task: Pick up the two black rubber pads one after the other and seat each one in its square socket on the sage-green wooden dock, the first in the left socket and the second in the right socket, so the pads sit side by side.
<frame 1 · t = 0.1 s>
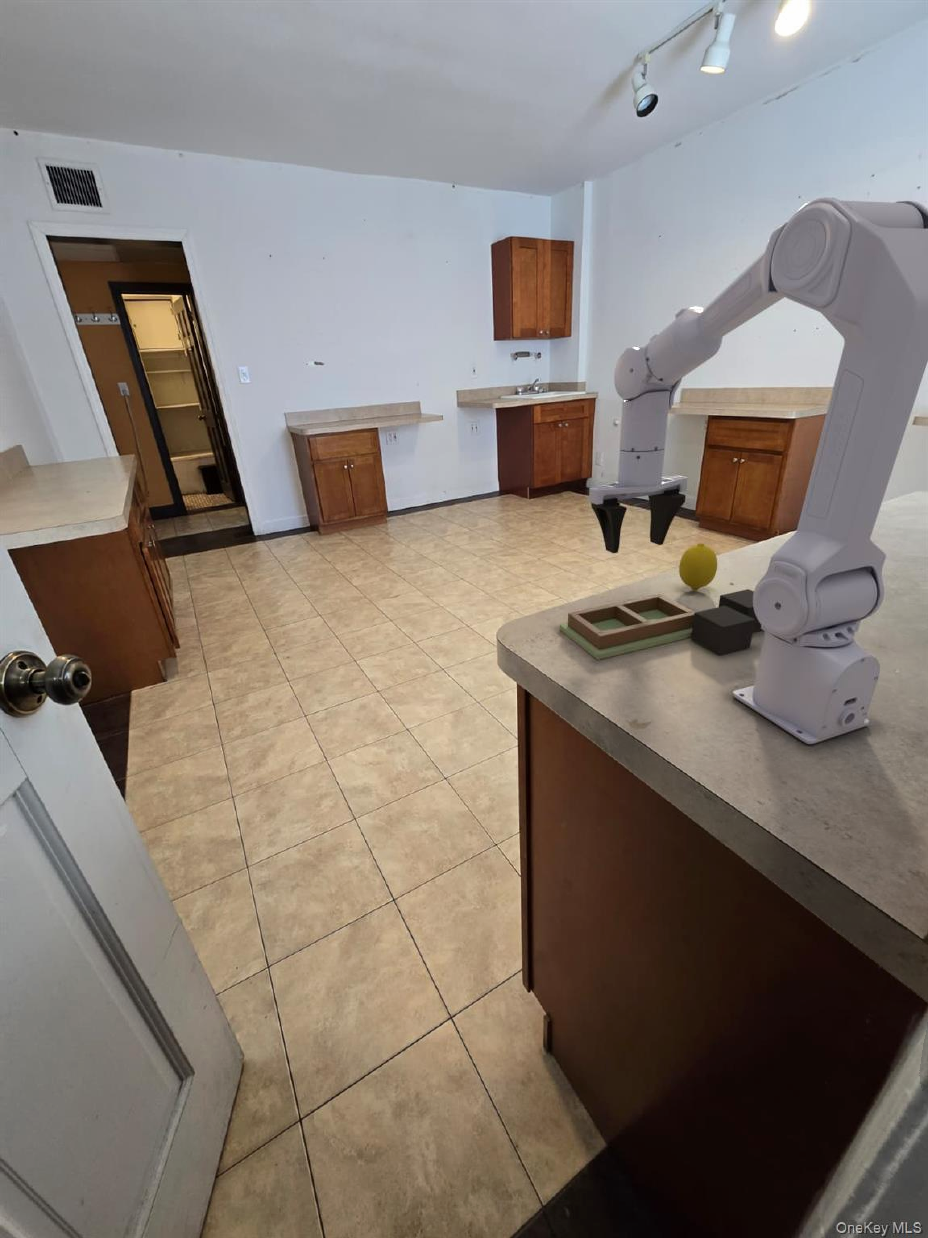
hand: (634, 547, 74), 10 cm above the countertop, tool pointing down, fingers open, 7 cm apart
pad b: (743, 624, 72), on the countertop
dock: (630, 631, 72), on the countertop
lemon: (694, 591, 84), on the countertop
pad a: (719, 643, 67), on the countertop
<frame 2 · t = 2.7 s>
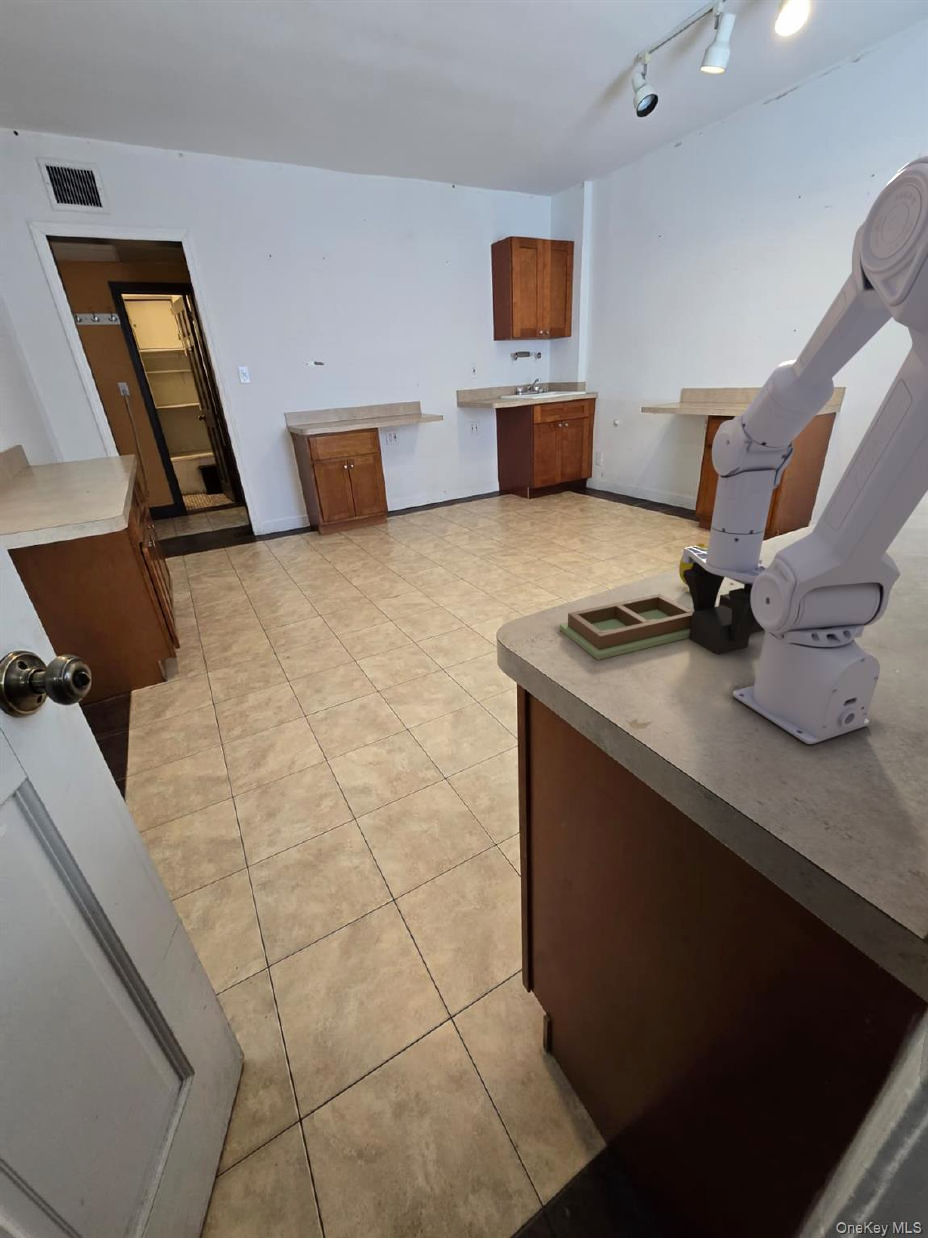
hand: (720, 629, 67), 2 cm above the countertop, tool pointing down, fingers open, 6 cm apart
nothing on the countertop moved.
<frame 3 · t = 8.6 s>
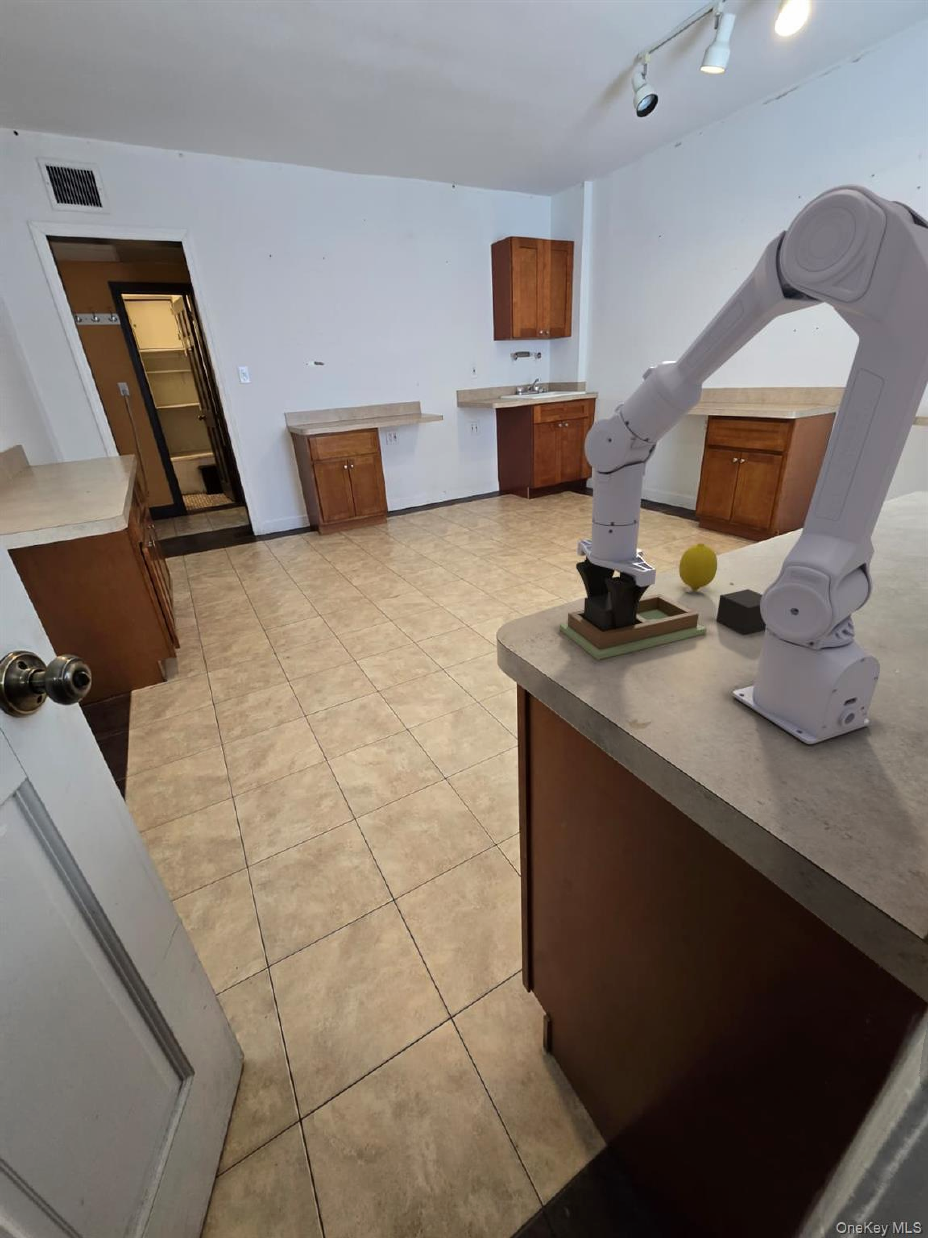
hand: (609, 618, 70), 3 cm above the countertop, tool pointing down, fingers closed on pad a, 5 cm apart
pad a: (608, 627, 70), point 1 cm above the countertop, touching gripper
everything else where it was.
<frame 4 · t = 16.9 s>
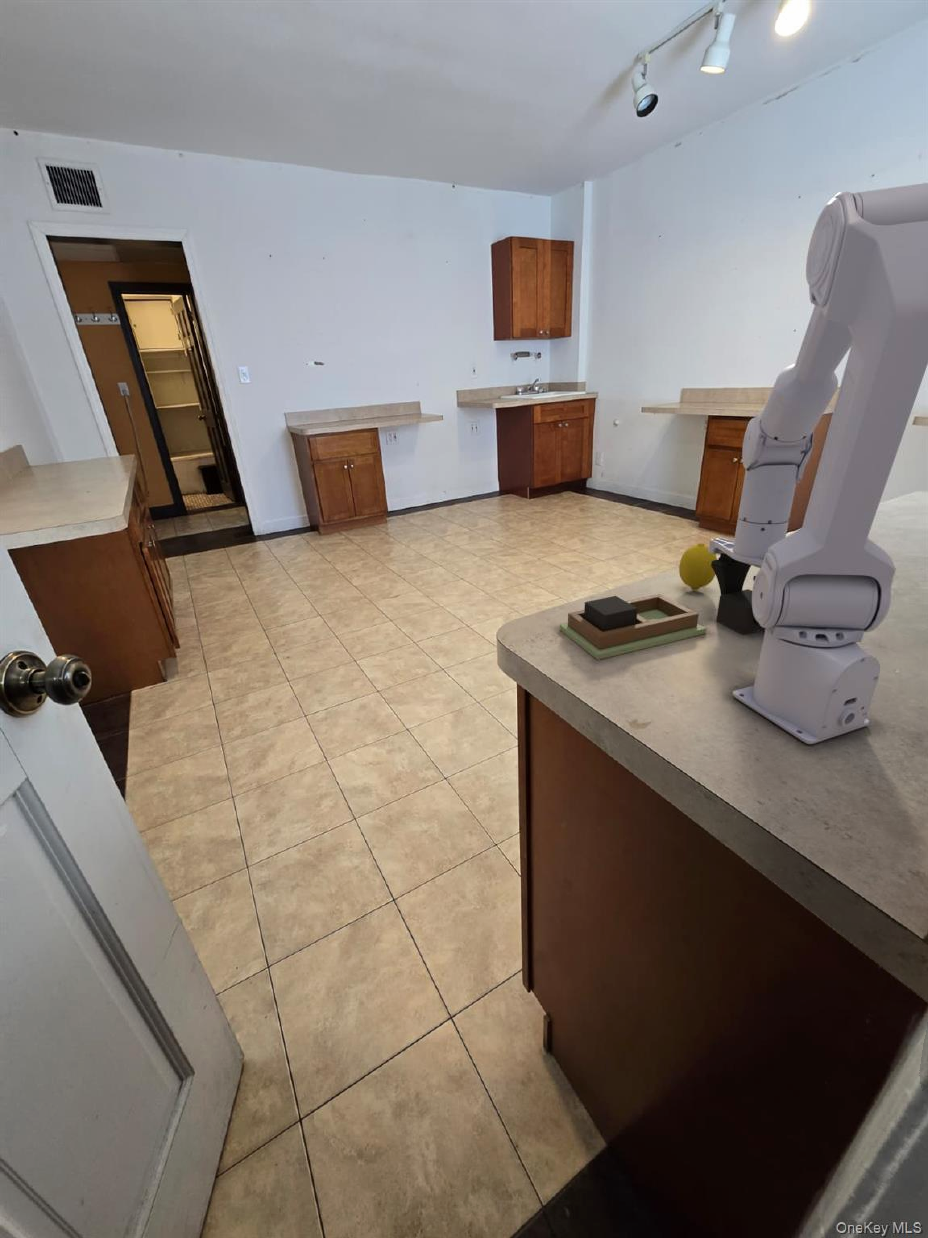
hand: (745, 615, 71), 1 cm above the countertop, tool pointing down, fingers closed on pad b, 5 cm apart
pad b: (743, 624, 72), on the countertop, touching gripper
pad a: (609, 631, 71), point 1 cm above the countertop, touching dock
everything else where it was.
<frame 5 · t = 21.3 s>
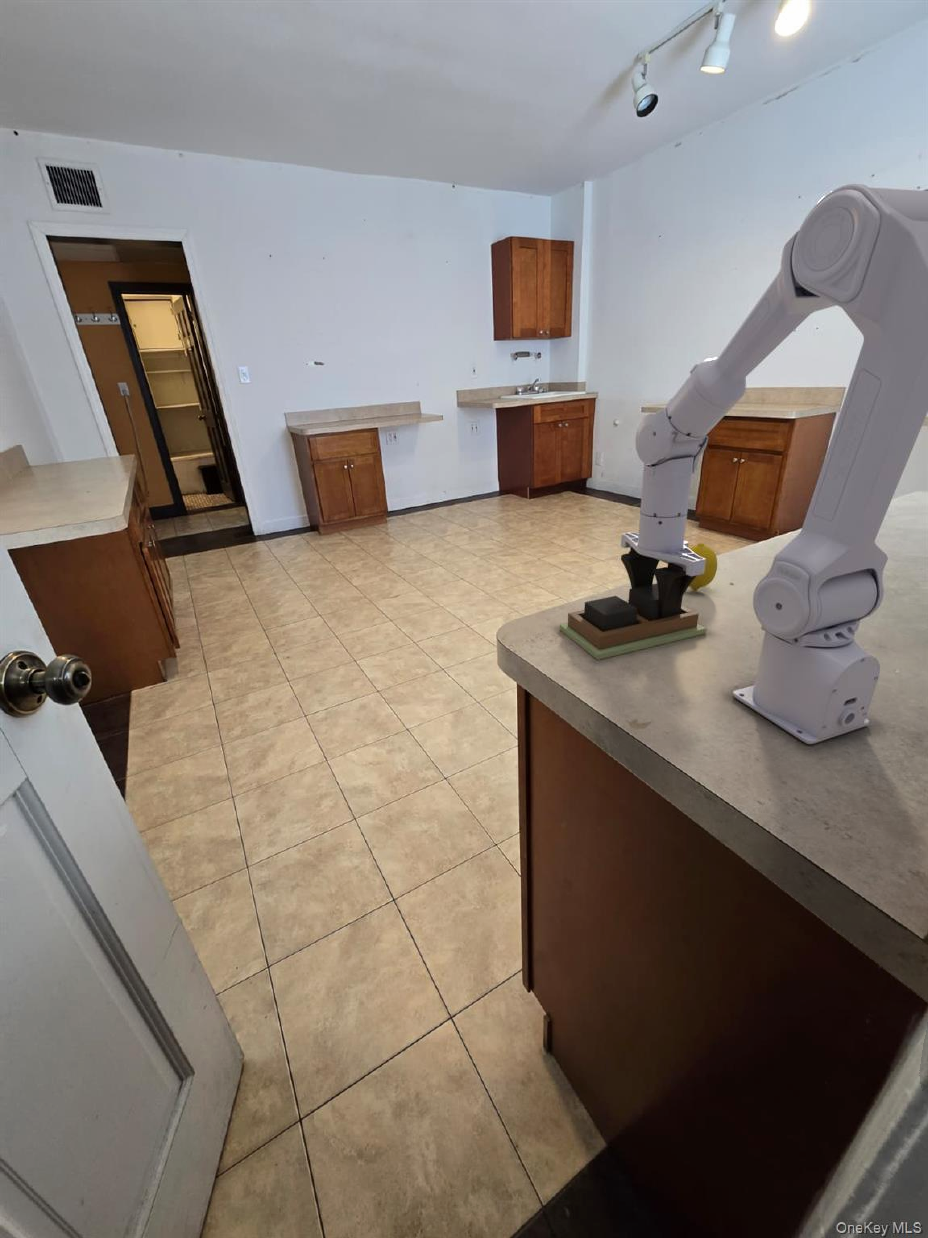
hand: (653, 608, 72), 3 cm above the countertop, tool pointing down, fingers closed on pad b, 5 cm apart
pad b: (653, 617, 72), point 1 cm above the countertop, touching gripper
everything else where it was.
when the fingers open (4 cm above the countertop, at t = 26.7 s): pad b drops 1 cm, resting on dock.
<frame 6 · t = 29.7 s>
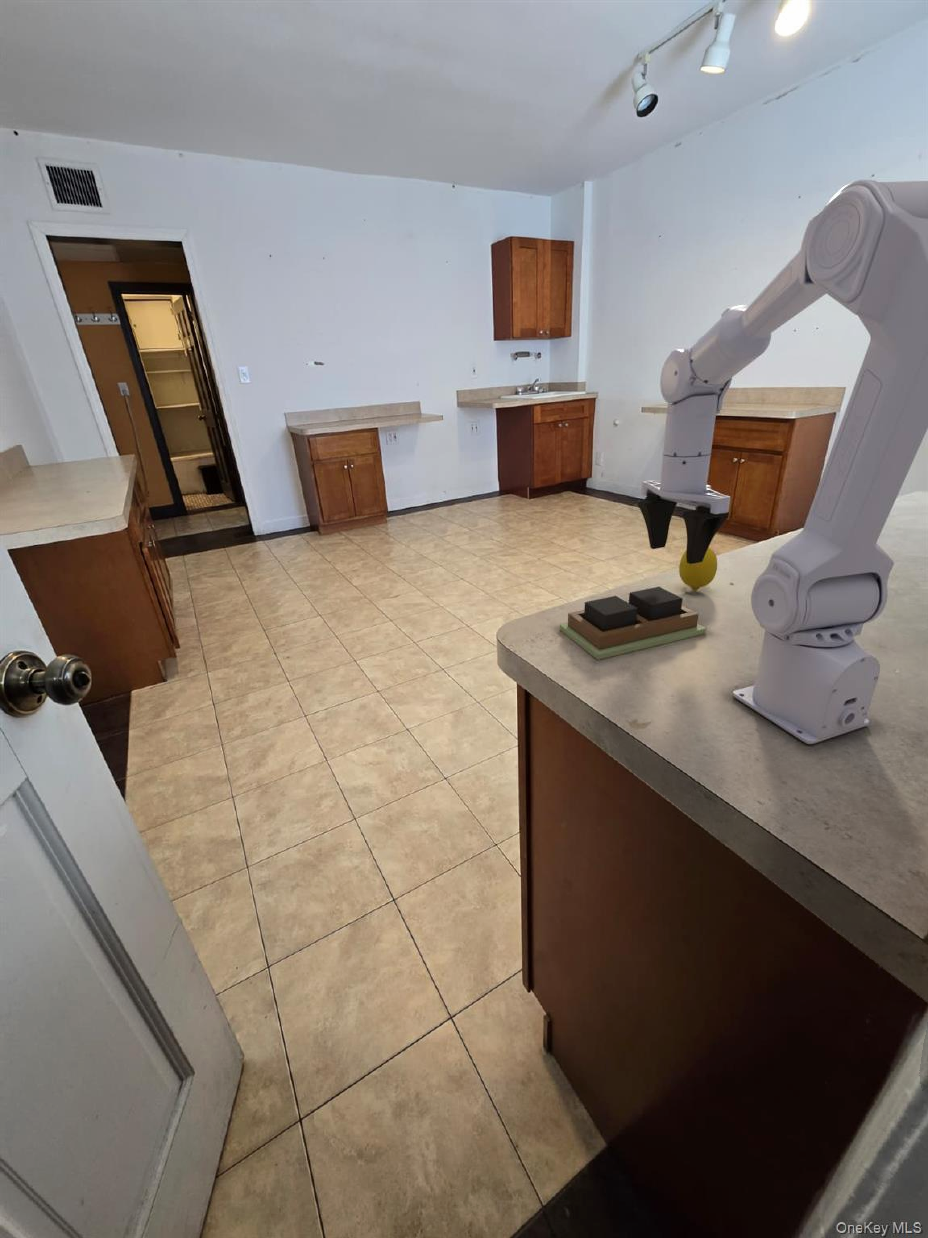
hand: (675, 554, 72), 9 cm above the countertop, tool pointing down, fingers open, 7 cm apart
pad b: (652, 621, 73), point 1 cm above the countertop, touching dock
everything else where it was.
at the end: pad a 0.1 cm from the target spot on the dock, point 0.8 cm above the dock's base; pad b 0.0 cm from the target spot on the dock, point 0.8 cm above the dock's base; pad b tilted 0° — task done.
